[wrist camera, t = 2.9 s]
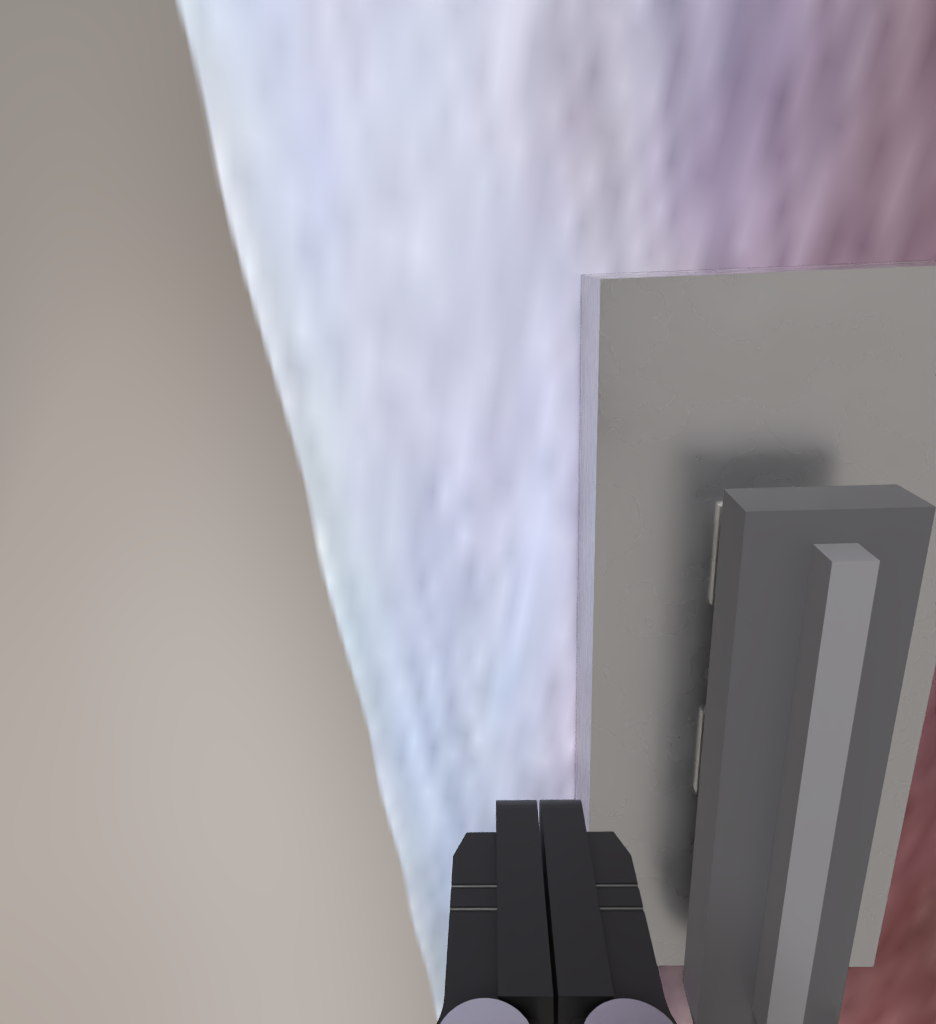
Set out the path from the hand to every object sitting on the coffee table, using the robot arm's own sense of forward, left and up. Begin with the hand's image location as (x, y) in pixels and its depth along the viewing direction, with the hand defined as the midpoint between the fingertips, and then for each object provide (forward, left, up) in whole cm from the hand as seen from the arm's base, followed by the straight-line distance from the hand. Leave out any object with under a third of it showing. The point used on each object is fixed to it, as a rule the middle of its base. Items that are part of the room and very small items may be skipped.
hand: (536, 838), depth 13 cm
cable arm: (-9, +8, -11) cm, 16 cm away
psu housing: (-9, +5, -18) cm, 20 cm away
